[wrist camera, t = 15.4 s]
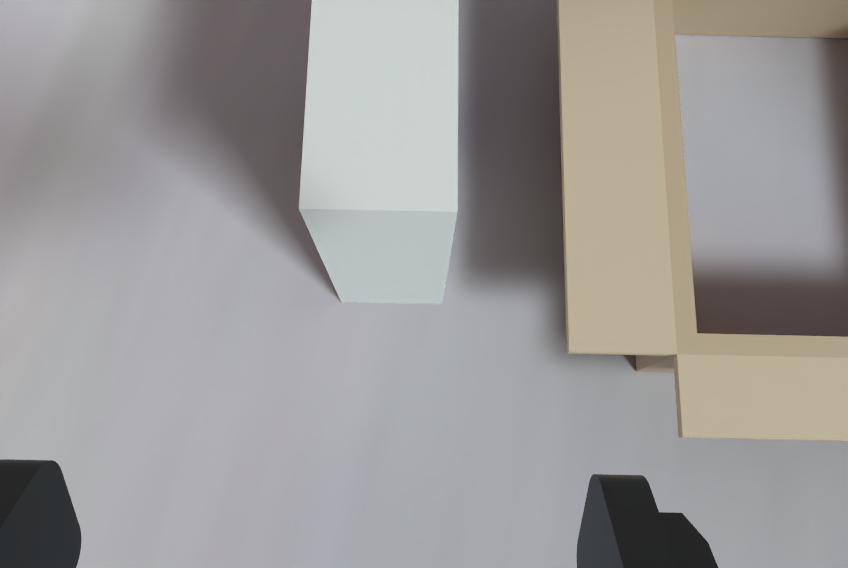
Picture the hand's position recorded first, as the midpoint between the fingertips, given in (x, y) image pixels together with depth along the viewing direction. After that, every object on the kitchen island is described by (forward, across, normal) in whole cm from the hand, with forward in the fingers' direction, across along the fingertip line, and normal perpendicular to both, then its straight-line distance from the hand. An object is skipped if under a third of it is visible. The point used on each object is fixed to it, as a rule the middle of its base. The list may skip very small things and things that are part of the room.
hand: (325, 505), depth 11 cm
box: (+23, 0, +5) cm, 24 cm away
